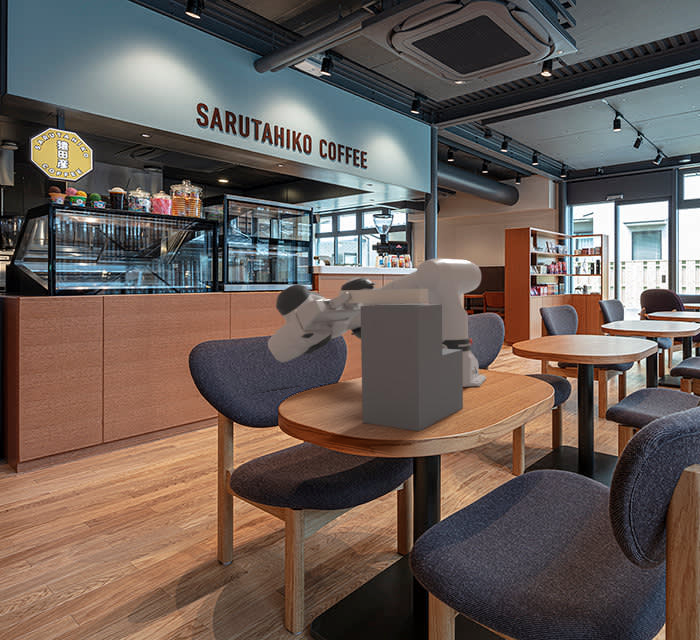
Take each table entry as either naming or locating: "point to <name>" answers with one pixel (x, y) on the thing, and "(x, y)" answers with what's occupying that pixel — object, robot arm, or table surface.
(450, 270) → the robot arm
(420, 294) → the beige rectangular post
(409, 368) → the grey l-shaped step block
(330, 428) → the table surface
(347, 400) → the table surface
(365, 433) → the table surface
